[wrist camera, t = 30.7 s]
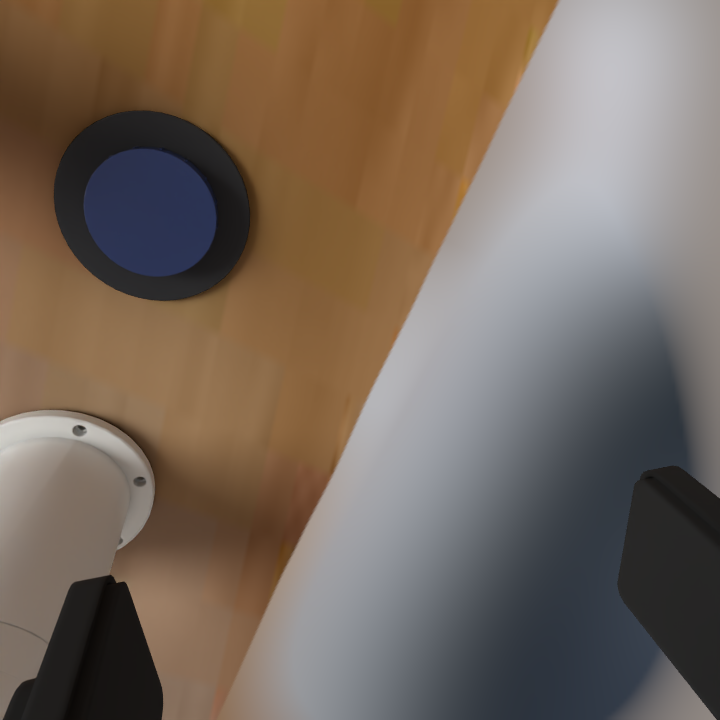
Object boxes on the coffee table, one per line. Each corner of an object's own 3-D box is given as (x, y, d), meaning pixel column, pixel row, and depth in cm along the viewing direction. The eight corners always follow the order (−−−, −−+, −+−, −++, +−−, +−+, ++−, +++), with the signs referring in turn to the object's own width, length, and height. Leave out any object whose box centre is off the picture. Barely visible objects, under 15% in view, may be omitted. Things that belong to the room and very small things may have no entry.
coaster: (213, 322, 36) (213, 325, 36) (34, 257, 33) (31, 260, 32) (276, 164, 33) (277, 165, 33) (87, 72, 29) (84, 71, 29)
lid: (112, 123, 30) (104, 123, 28) (235, 179, 32) (235, 183, 31) (76, 241, 32) (67, 248, 30) (195, 286, 34) (192, 294, 33)
